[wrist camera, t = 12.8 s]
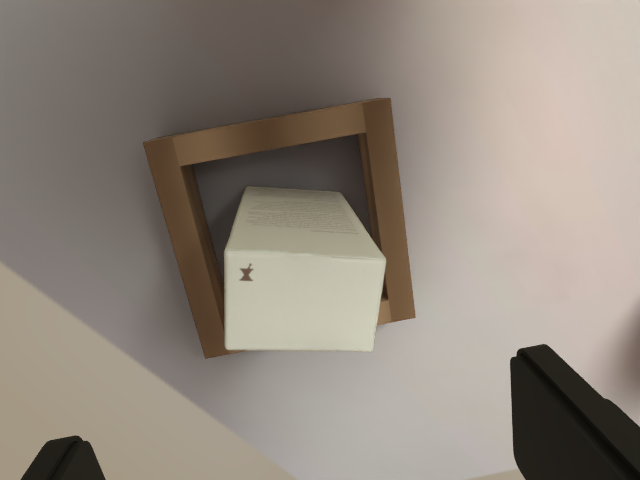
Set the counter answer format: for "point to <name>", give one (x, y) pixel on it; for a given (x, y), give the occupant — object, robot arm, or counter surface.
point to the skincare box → (300, 274)
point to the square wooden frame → (266, 134)
